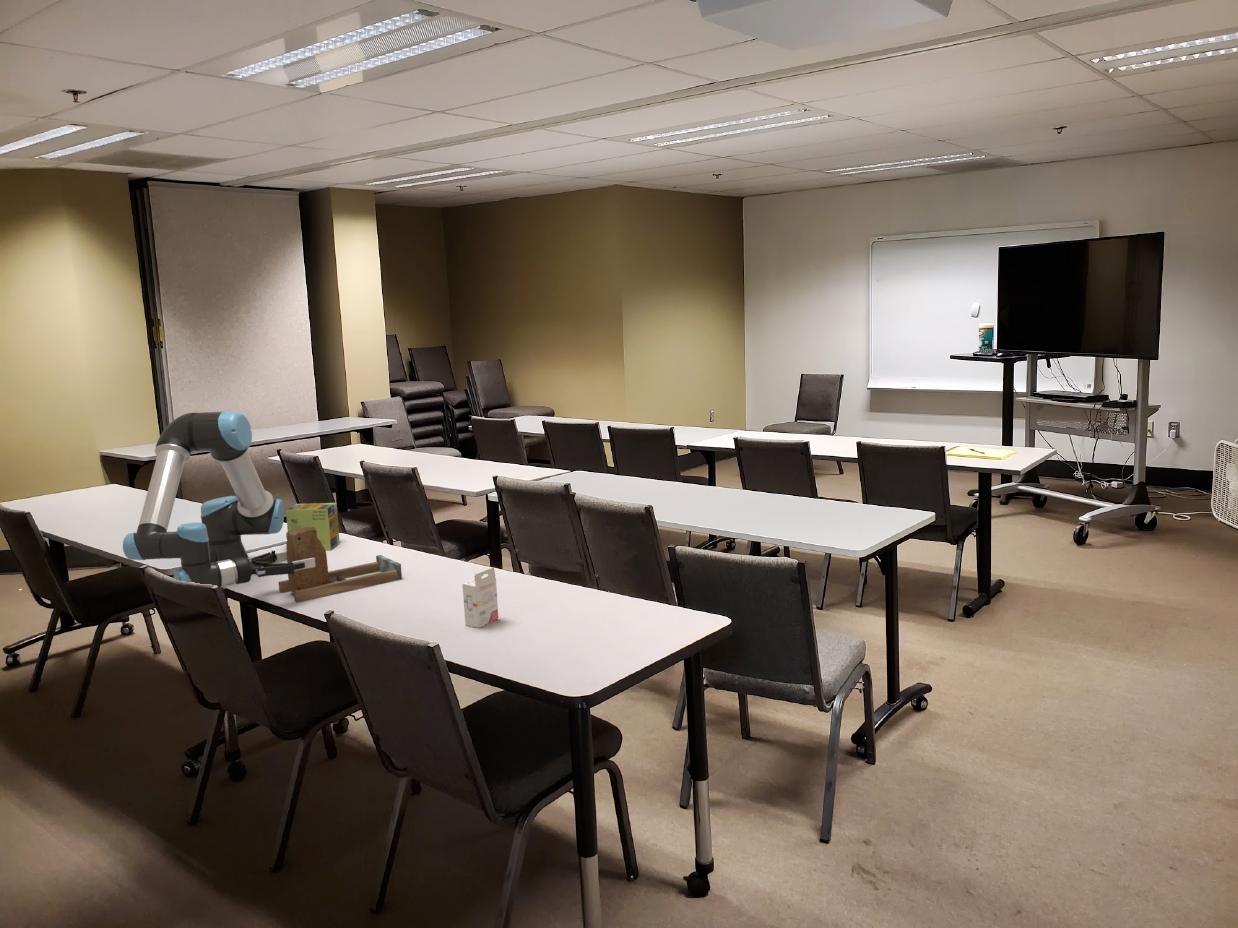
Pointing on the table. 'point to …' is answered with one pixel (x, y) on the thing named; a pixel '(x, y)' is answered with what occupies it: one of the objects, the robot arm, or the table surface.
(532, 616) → the table surface
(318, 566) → the block
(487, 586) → the ink cartridge box
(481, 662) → the table surface
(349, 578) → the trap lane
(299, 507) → the protein box
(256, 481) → the robot arm
